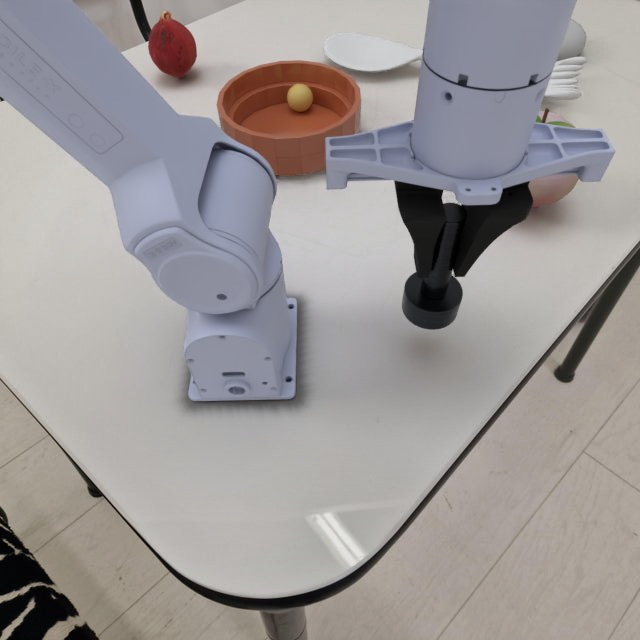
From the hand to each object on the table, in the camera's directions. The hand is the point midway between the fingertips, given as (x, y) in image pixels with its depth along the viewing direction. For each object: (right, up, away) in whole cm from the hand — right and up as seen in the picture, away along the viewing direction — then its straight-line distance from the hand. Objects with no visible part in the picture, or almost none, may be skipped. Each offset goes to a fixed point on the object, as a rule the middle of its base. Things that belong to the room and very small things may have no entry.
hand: (438, 266), depth 34 cm
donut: (+22, +32, +35) cm, 53 cm away
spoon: (+8, +27, +32) cm, 43 cm away
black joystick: (0, -3, +4) cm, 4 cm away
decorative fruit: (+12, +8, +18) cm, 23 cm away
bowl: (-11, +17, +25) cm, 32 cm away
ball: (-10, +22, +26) cm, 36 cm away
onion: (-26, +28, +34) cm, 51 cm away
